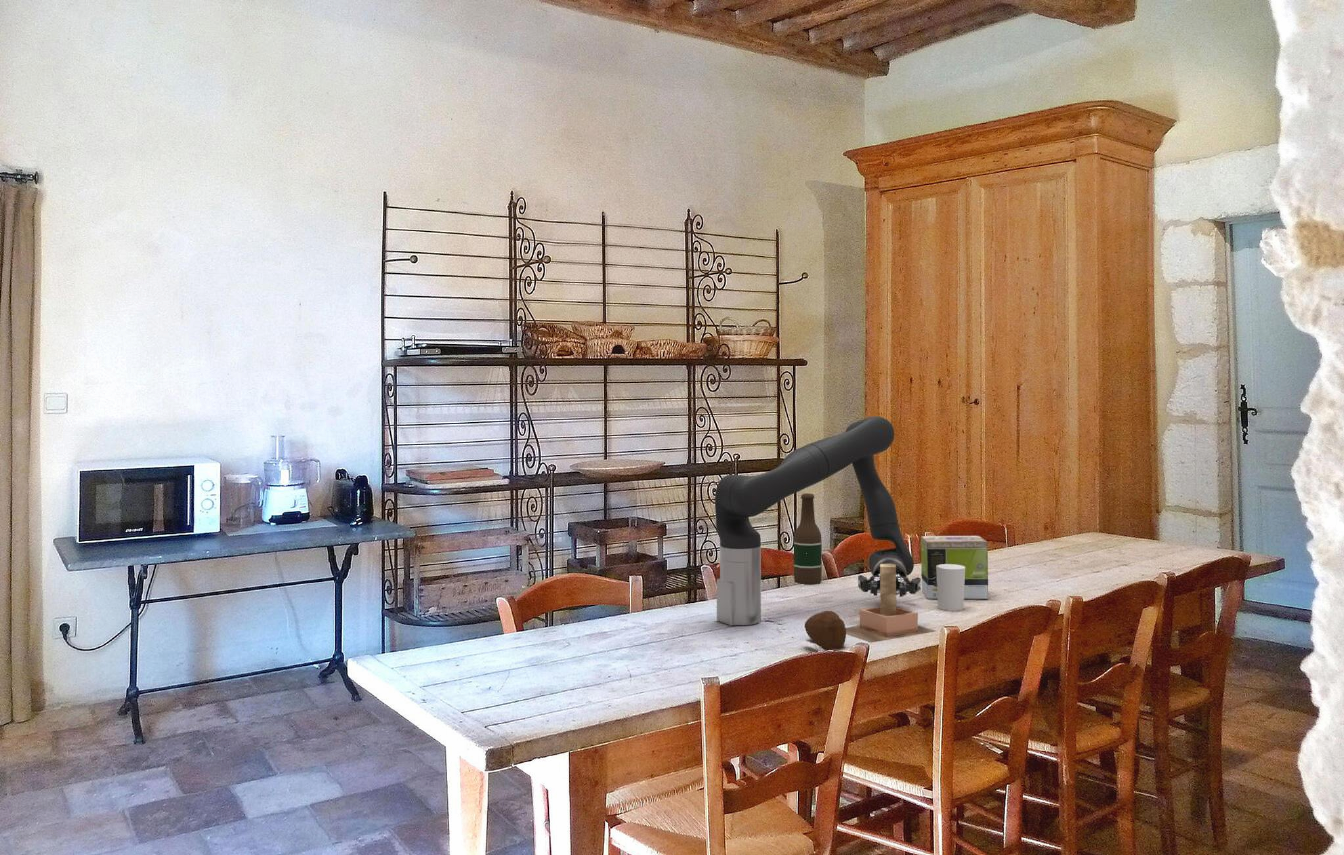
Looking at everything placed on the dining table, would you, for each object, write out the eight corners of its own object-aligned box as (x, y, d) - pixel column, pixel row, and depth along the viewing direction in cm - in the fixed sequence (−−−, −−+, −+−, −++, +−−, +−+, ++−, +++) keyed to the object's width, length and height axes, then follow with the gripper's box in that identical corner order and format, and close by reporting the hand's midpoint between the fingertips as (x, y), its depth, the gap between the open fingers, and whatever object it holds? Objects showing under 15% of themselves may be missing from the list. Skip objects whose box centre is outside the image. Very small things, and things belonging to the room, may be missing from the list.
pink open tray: (886, 636, 207) (886, 617, 207) (859, 628, 214) (859, 609, 214) (917, 631, 211) (917, 612, 211) (890, 623, 218) (890, 605, 218)
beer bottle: (813, 585, 265) (813, 496, 264) (788, 582, 270) (787, 494, 269) (827, 581, 271) (827, 493, 270) (802, 577, 276) (802, 491, 275)
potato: (830, 657, 196) (830, 617, 196) (797, 646, 204) (797, 608, 204) (857, 651, 200) (857, 612, 200) (824, 641, 208) (824, 603, 208)
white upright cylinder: (966, 611, 234) (966, 569, 233) (937, 610, 235) (937, 568, 235) (963, 605, 240) (964, 564, 240) (935, 604, 242) (935, 563, 241)
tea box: (980, 591, 256) (980, 534, 255) (988, 600, 246) (989, 540, 245) (920, 591, 258) (920, 534, 257) (926, 599, 248) (926, 540, 247)
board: (870, 648, 203) (870, 642, 202) (833, 635, 213) (833, 629, 213) (936, 636, 211) (936, 630, 211) (897, 624, 222) (897, 619, 222)
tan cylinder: (877, 628, 211) (877, 567, 210) (877, 622, 215) (877, 563, 215) (899, 628, 210) (898, 567, 209) (898, 623, 214) (898, 563, 214)
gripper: (857, 558, 228) (853, 572, 211) (922, 560, 224) (923, 575, 208) (857, 591, 228) (853, 607, 211) (922, 593, 225) (923, 610, 208)
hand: (888, 591), depth 210 cm, fingers open, 4 cm apart
